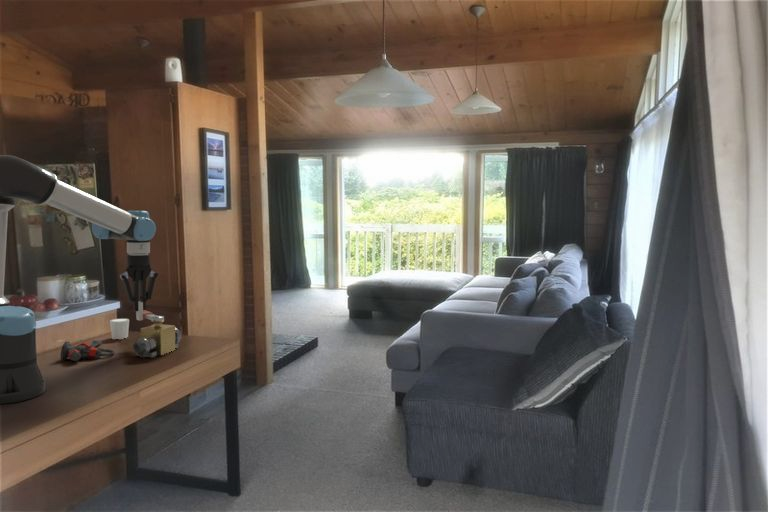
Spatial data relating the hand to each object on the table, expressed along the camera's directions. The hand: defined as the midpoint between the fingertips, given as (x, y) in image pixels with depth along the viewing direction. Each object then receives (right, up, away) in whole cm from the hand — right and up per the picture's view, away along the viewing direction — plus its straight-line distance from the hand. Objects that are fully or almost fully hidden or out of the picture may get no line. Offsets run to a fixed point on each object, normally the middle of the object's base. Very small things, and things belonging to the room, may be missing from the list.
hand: (139, 319), depth 199 cm
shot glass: (-14, -9, +16) cm, 23 cm away
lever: (+4, 0, -1) cm, 4 cm away
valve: (-13, -12, -7) cm, 19 cm away
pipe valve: (+8, -11, -4) cm, 14 cm away
